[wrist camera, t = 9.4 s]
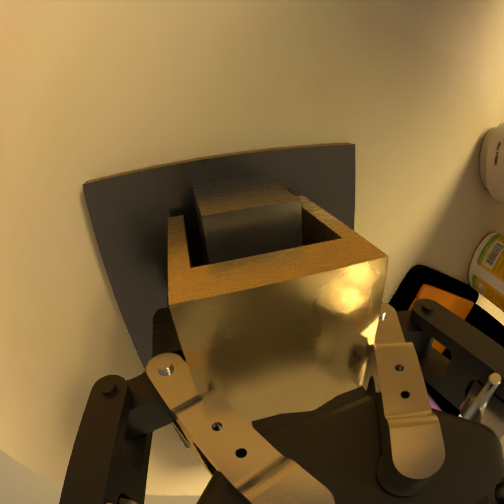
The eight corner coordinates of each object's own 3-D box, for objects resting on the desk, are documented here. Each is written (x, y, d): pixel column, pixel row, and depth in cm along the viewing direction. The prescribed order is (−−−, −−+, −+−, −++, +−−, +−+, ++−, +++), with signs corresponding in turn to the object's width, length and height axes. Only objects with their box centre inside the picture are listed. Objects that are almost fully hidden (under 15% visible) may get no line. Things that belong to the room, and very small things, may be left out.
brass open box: (168, 217, 12) (168, 304, 7) (302, 195, 13) (388, 256, 8) (202, 361, 15) (224, 459, 10) (303, 337, 16) (352, 421, 11)
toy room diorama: (411, 386, 26) (447, 431, 20) (326, 391, 22) (364, 458, 16) (478, 289, 23) (527, 328, 17) (410, 257, 18) (484, 314, 12)
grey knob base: (86, 181, 11) (0, 263, 5) (348, 142, 14) (478, 181, 7) (185, 441, 20) (201, 527, 14) (329, 405, 23) (370, 477, 16)
